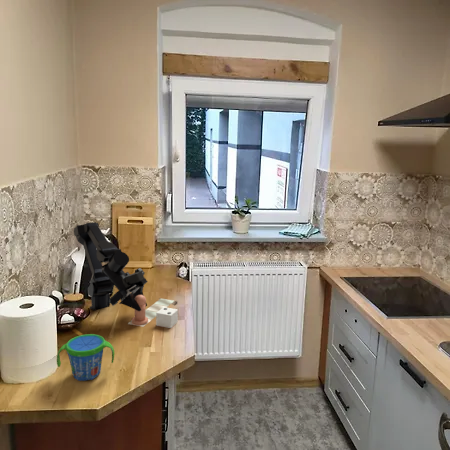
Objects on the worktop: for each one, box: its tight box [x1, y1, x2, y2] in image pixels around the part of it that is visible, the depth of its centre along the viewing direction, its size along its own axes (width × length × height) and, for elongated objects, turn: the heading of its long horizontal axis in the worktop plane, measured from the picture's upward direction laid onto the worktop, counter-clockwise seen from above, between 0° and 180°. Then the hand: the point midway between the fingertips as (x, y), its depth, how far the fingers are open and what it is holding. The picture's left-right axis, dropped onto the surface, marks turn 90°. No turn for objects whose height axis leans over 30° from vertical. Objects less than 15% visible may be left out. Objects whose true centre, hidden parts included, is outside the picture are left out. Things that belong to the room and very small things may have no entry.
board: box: [127, 297, 178, 328], centre depth 156 cm, size 28×9×1 cm, turn 163°
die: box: [155, 307, 179, 329], centre depth 146 cm, size 6×6×6 cm
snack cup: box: [56, 333, 115, 382], centre depth 112 cm, size 16×10×10 cm
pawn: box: [131, 294, 149, 326], centre depth 145 cm, size 6×6×10 cm
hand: (143, 308), depth 145 cm, fingers closed on pawn, 4 cm apart
